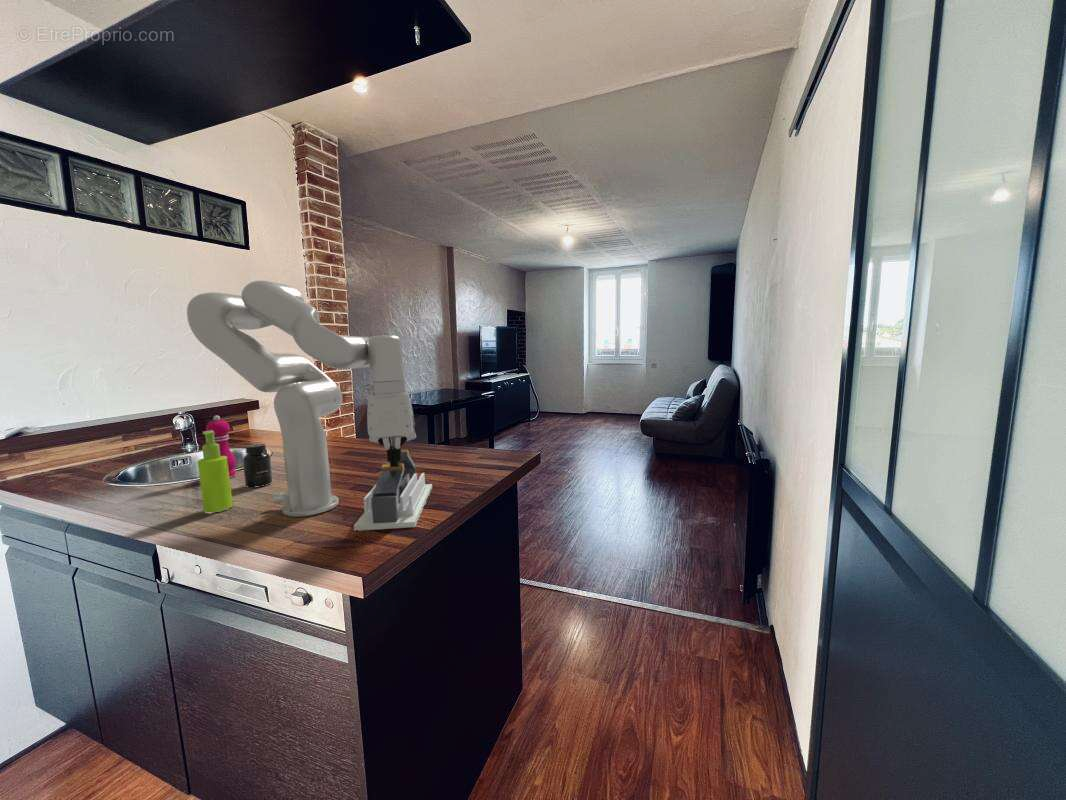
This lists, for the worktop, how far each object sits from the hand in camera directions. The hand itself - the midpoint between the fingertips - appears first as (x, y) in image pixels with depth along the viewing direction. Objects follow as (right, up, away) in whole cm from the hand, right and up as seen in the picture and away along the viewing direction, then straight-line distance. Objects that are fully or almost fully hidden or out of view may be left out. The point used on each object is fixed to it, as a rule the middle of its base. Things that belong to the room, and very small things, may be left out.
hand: (395, 464), depth 102 cm
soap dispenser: (-47, -12, +6) cm, 49 cm away
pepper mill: (-65, -9, +33) cm, 74 cm away
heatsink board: (0, -11, +4) cm, 12 cm away
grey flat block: (0, -4, -3) cm, 5 cm away
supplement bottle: (-49, -10, +24) cm, 55 cm away
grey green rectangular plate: (-1, -1, +9) cm, 9 cm away
